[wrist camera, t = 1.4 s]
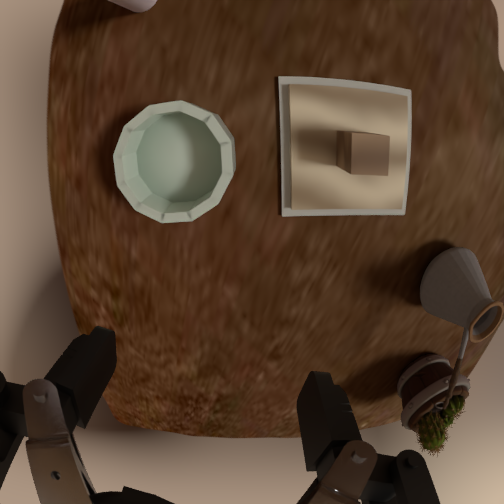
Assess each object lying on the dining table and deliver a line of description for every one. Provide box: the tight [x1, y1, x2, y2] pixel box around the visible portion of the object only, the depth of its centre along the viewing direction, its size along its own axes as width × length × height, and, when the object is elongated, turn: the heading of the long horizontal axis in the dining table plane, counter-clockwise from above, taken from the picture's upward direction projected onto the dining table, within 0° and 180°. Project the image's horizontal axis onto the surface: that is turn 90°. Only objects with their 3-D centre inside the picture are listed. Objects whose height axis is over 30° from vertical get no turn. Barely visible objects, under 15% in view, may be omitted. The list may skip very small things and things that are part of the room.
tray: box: [278, 76, 411, 216], centre depth 30 cm, size 16×16×1 cm
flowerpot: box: [397, 354, 470, 455], centre depth 38 cm, size 14×15×20 cm
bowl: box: [113, 100, 236, 223], centre depth 28 cm, size 12×12×5 cm
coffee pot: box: [420, 247, 504, 409], centre depth 33 cm, size 21×12×15 cm, turn 176°
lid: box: [288, 84, 408, 210], centre depth 27 cm, size 14×14×6 cm
